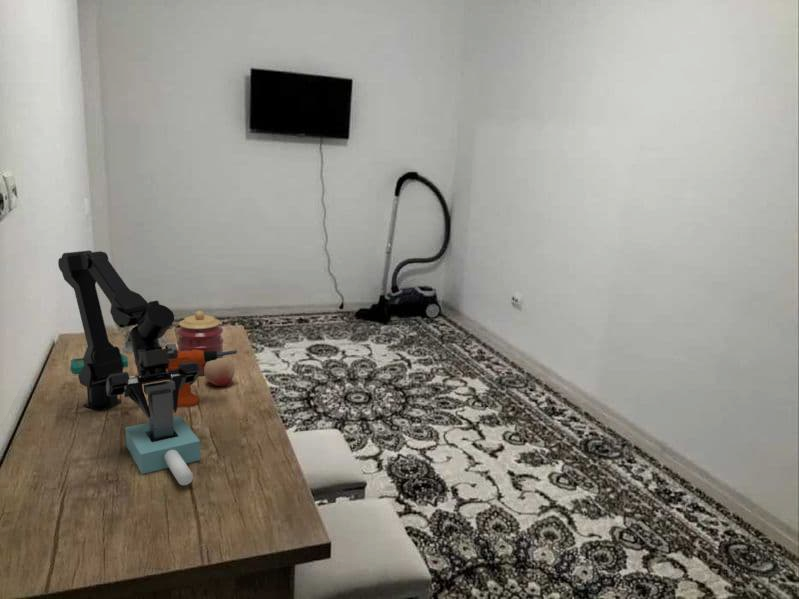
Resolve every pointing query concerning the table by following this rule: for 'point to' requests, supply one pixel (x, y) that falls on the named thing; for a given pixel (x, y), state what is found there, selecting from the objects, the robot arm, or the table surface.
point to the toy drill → (200, 358)
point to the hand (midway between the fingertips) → (162, 414)
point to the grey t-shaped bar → (160, 409)
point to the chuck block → (164, 450)
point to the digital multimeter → (79, 364)
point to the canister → (200, 335)
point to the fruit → (219, 371)
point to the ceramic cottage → (127, 345)
